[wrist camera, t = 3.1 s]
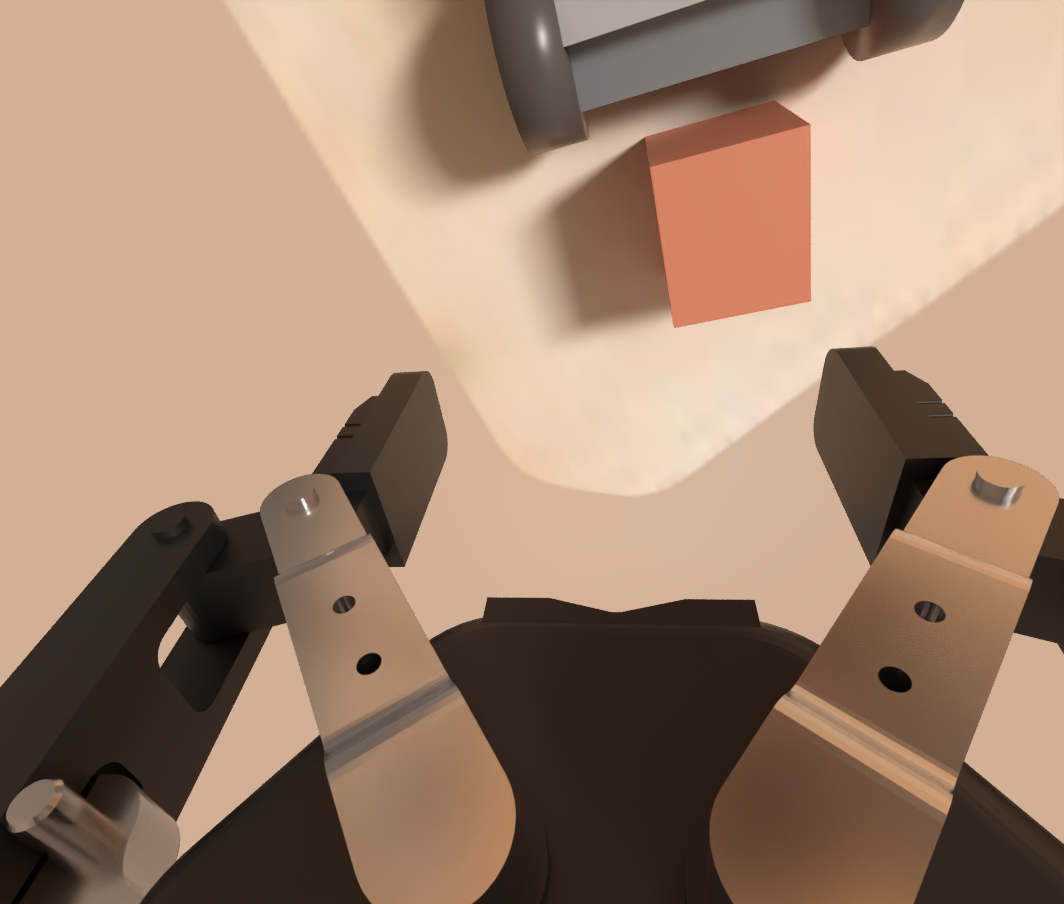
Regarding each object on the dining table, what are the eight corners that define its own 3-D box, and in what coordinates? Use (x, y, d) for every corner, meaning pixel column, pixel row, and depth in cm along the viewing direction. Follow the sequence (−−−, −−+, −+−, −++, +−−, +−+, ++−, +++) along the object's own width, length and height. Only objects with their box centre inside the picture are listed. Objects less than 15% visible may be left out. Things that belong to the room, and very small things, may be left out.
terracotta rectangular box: (774, 100, 23) (810, 124, 19) (779, 251, 26) (810, 301, 22) (644, 136, 24) (650, 167, 20) (665, 276, 27) (673, 327, 23)
